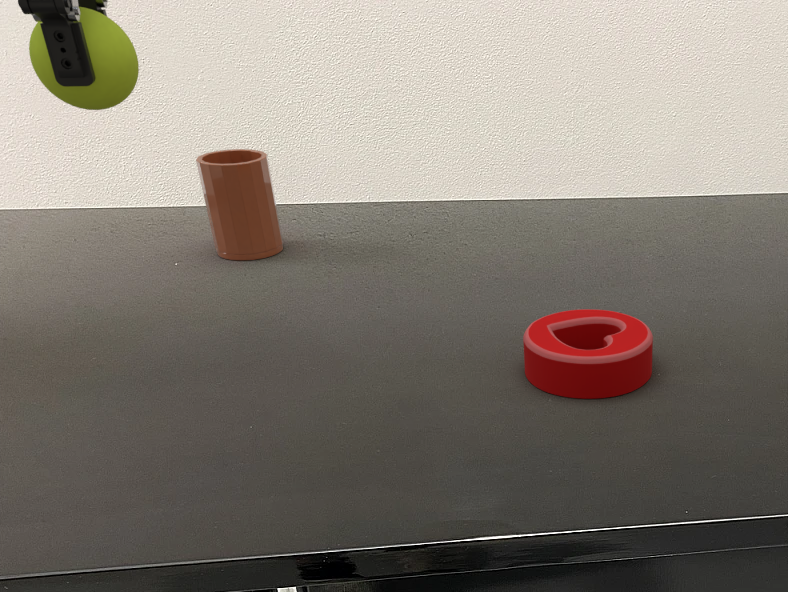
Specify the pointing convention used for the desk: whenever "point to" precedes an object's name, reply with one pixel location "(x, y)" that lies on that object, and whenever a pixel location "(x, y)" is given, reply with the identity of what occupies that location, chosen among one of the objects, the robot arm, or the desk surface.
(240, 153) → the cup
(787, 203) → the desk surface
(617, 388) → the decorative ornament
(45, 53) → the ball
